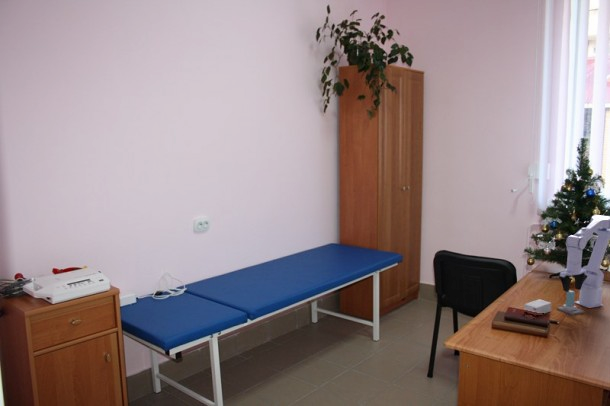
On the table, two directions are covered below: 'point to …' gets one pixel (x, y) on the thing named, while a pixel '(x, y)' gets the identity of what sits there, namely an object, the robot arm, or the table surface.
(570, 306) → the pusher tool
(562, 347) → the table surface
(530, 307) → the skincare box
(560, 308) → the rubber mat
